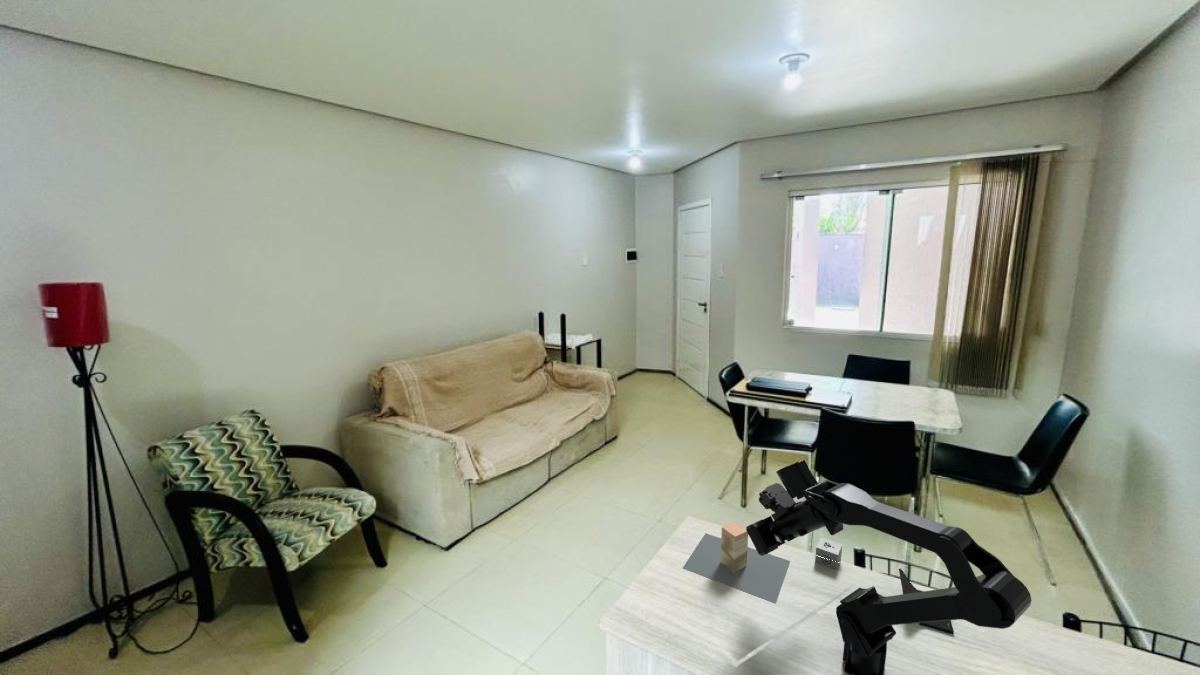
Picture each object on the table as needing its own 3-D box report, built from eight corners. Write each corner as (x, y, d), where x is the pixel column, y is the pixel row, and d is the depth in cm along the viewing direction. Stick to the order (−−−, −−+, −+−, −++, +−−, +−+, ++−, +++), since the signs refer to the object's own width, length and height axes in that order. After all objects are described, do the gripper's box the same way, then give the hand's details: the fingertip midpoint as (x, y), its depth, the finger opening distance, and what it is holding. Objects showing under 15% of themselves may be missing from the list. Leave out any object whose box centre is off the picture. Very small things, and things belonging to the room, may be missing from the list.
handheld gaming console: (966, 630, 96) (934, 587, 97) (932, 644, 98) (901, 601, 99) (944, 597, 107) (915, 559, 108) (914, 610, 109) (886, 572, 110)
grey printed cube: (819, 554, 122) (821, 537, 121) (840, 561, 119) (842, 544, 118) (814, 564, 118) (816, 547, 117) (836, 572, 115) (837, 555, 114)
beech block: (746, 565, 117) (748, 530, 115) (733, 572, 115) (735, 536, 113) (733, 555, 121) (734, 521, 119) (720, 562, 119) (721, 527, 117)
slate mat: (790, 563, 119) (790, 560, 118) (775, 606, 105) (775, 603, 105) (705, 535, 131) (705, 533, 130) (682, 570, 117) (682, 568, 117)
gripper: (812, 468, 105) (769, 491, 117) (755, 492, 96) (715, 514, 107) (842, 516, 100) (794, 535, 112) (785, 547, 91) (739, 564, 102)
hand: (761, 536), depth 108 cm, fingers closed
